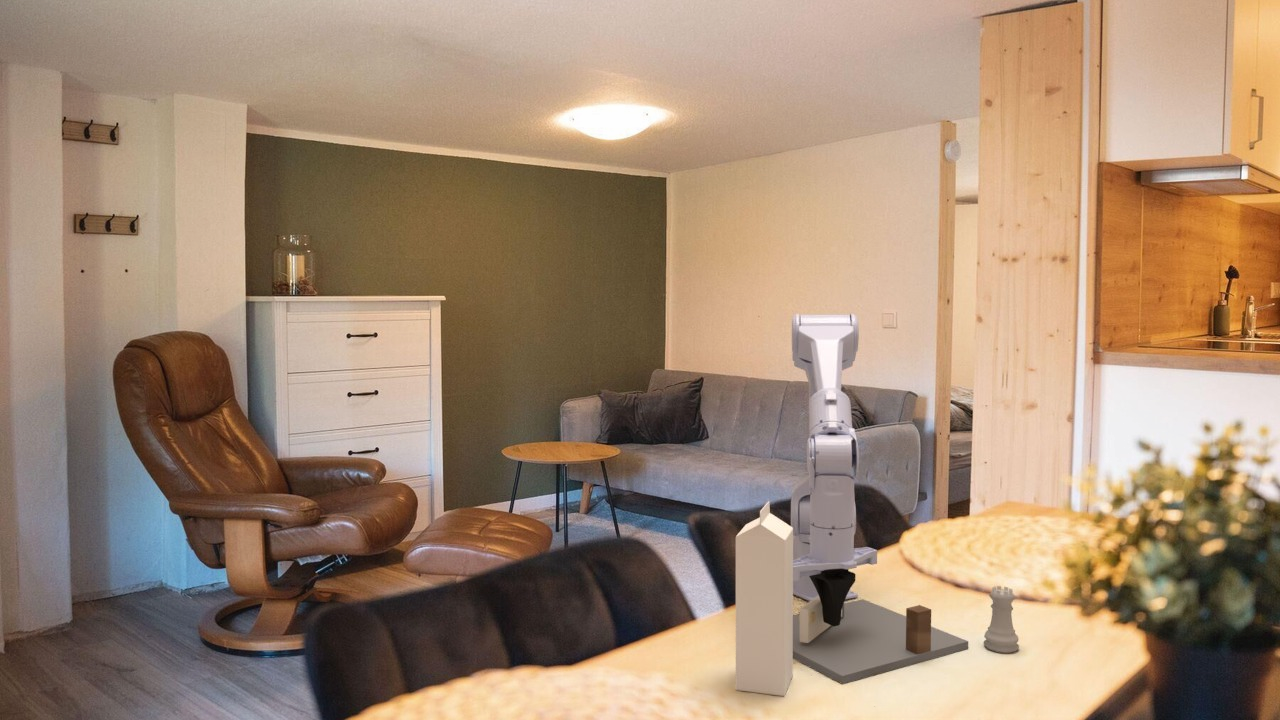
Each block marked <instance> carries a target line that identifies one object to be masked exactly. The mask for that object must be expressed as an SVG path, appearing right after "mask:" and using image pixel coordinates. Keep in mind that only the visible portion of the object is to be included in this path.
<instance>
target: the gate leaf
mask: <svg viewBox="0 0 1280 720" xmlns="http://www.w3.org/2000/svg"><path fill="white" fill-rule="evenodd" d="M798 614H799V621H800V642H804V643H809V642H810V641H812V640H813V639H814V638H815V637H817V636H818V635H819V634H821V633H822V632H823V631H824V630H826V629H827V628H828V627H829V626H831V625H829V624H827V623H825V622H824V620H823V614H822V604H821V601H820V598H819V595H818V596H817V597H815V598H814V599H812V600H811V601H808V602H806V603H804V605H802V606H801V607H799V612H798ZM841 617H844V604H843V607H842V610H841Z"/></svg>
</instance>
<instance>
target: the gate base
mask: <svg viewBox="0 0 1280 720" xmlns="http://www.w3.org/2000/svg"><path fill="white" fill-rule="evenodd" d="M968 649H969V640H967V639H963V638H962V637H959V636H957V635H953V634H951V633H949V632H946V631H944V630H942V629H939V628H937V627H934V626H931V651H928V652H925V653H921V654H915V653H913V652H910V651H908V650H906V615H903V614H901V613H900V612H897V611H894V610H891V609H889V608H887V607H884V606H882V605H878V604H876V603H874V602H871V601H868V600H866V599H864V598H861V599H857V600H853V601H849V602H844V617H841V621H840V625H838V626H829V627H828V628H827V629H826V630H824V631H823V632H822V633H821V634H819V635H818V636H817V637H815V638H814V639H813V640H812V641H810V642H809V643H804V642H800V621H799V613H795V614H793V659H794V660H796V661H798V662H800V663H801V664H803V665H805V666H807V667H809V668H811V669H813V670H815V671H817V672H818V673H820V674H823V675H825V676H826V677H828V678H831V679H832V680H834V681H836V682H837V683H839V684H841V685H843V684H846V683H847V684H848V683H852V682H854V681H858V680H861V679H865V678H869V677H872V675H873V676H876V675H879V673H880V674H883V673H887V672H890V671H893V670H898V669H900V668H905V667H908V666H911V665H915V664H918V663H921V662H925V661H929V660H933V659H937V658H940V657H943V656H947V655H951V654H954V653H957V652H962V651H964V650H968ZM875 674H876V675H875Z"/></svg>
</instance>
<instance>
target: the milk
mask: <svg viewBox="0 0 1280 720" xmlns="http://www.w3.org/2000/svg"><path fill="white" fill-rule="evenodd" d="M770 502H771V501H769V500H768V501H767V502H766V503H765V504H764V506H763V507H762V509H760V510H759V517H758V518H756V519H754V520H752V521H750V522H748V523H746V524H745V525H744V526H743V528H741V530H740V531H739V532H738V533H737V535H736V536H735V690H736V691H741V692H749V693H757V694H765V695H774V696H779V697H780V696H782V697H785V696H786V693H787V692H788V689H789V686H790V683H791V681H792V679H793V675H794V674H793V672H794V671H793V665H794V664H793V662H794V660H793V659H794V658H793V615H794V594H793V536H794V534H793V528H792V527H791V525H789V524H788V523H786V522H785V521H783V520H782V519H780V518H779V517H777V516H775V515H774V514H773V513H771V512H770V510H771V508H770V506H771V504H770Z"/></svg>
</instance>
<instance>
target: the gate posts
mask: <svg viewBox="0 0 1280 720" xmlns="http://www.w3.org/2000/svg"><path fill="white" fill-rule="evenodd" d="M905 611H906V612H905V613H906V615H905V616H906V650H908V651H910V652H913V653H915V654H921V653H925V652H928V651H931V627H932V609H931V608H928V607H926V606H924V605H920V604H918V605H915V606H910V607H907V608H906V610H905Z"/></svg>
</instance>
